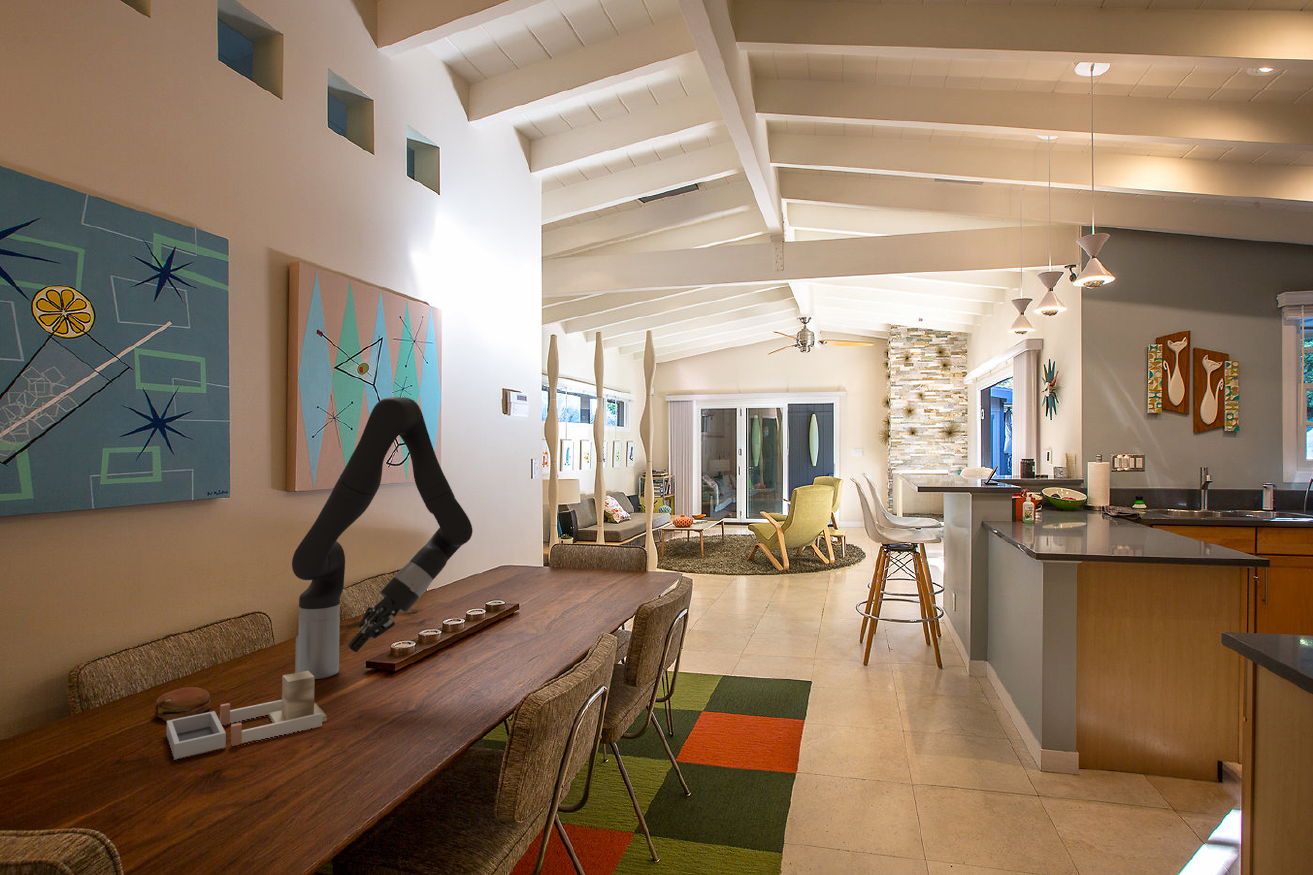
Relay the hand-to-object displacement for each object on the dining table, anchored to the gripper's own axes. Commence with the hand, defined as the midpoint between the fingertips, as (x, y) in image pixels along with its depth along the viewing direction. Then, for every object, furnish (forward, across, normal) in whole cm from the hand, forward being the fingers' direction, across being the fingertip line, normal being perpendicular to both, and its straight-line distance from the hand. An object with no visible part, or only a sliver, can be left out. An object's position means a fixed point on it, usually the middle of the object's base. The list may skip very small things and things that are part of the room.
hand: (351, 649), depth 152 cm
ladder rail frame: (+20, 0, -2) cm, 20 cm away
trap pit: (+29, 0, -11) cm, 31 cm away
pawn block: (+17, 0, +2) cm, 17 cm away
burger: (+29, -19, -11) cm, 37 cm away
